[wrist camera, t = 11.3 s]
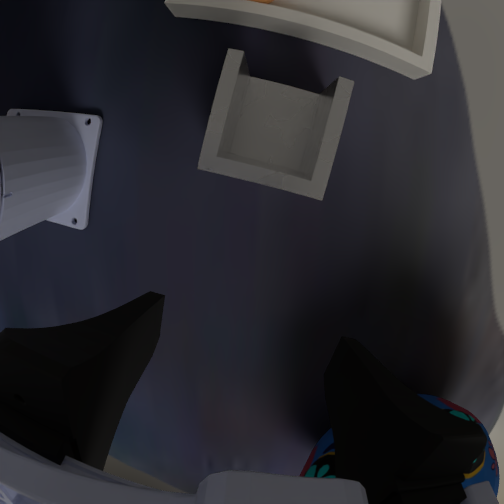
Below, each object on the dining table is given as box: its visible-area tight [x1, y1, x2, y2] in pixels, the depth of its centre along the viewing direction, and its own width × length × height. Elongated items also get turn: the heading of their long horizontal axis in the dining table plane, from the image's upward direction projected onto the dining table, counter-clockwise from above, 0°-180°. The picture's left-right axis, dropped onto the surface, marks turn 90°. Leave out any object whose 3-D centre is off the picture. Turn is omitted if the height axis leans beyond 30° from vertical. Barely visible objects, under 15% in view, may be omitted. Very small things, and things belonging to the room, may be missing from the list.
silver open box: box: [197, 48, 354, 200], centre depth 16 cm, size 6×6×6 cm
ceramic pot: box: [300, 394, 499, 497], centre depth 19 cm, size 18×18×15 cm
